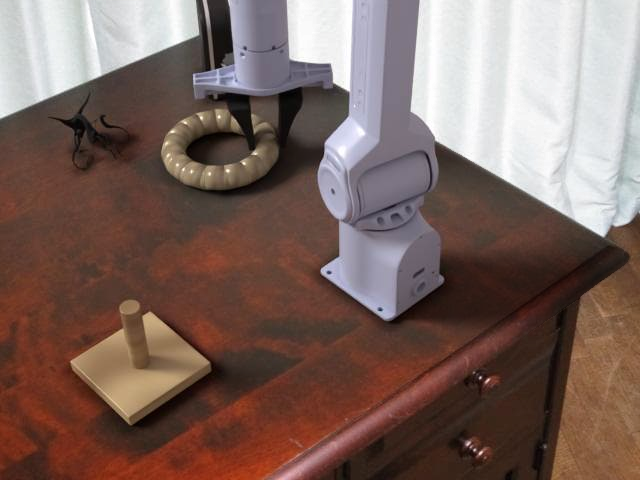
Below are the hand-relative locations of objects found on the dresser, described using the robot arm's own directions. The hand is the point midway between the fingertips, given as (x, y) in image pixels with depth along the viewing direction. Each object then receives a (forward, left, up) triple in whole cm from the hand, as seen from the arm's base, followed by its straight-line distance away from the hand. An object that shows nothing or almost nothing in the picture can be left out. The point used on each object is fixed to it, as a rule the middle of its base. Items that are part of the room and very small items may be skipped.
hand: (267, 143), depth 126 cm
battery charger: (+14, -5, -2) cm, 15 cm away
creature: (+14, +13, -2) cm, 19 cm away
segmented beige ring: (+3, +4, 0) cm, 5 cm away
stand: (-16, +29, -1) cm, 33 cm away
